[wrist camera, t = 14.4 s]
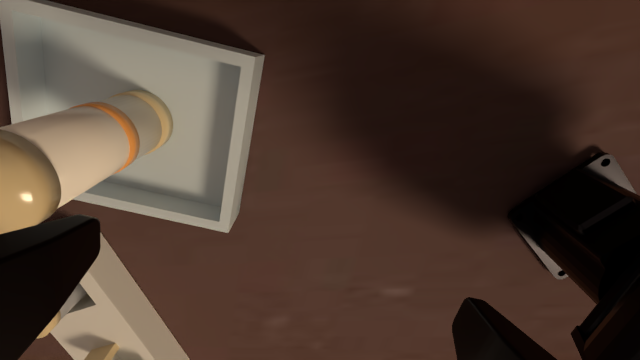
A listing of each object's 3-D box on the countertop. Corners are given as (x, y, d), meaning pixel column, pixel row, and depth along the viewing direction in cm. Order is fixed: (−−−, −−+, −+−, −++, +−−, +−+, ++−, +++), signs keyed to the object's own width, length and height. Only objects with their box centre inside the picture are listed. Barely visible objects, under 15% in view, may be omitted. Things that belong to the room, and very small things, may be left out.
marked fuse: (180, 145, 20) (51, 236, 11) (125, 152, 20) (-48, 247, 11) (163, 85, 19) (-2, 131, 10) (104, 93, 19) (-112, 146, 10)
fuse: (106, 271, 24) (58, 319, 20) (88, 294, 25) (39, 345, 21) (71, 249, 23) (14, 294, 19) (54, 273, 24) (-4, 321, 20)
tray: (264, 54, 19) (255, 57, 16) (238, 213, 22) (228, 232, 20) (39, -2, 18) (-3, -8, 16) (51, 171, 22) (18, 187, 19)
